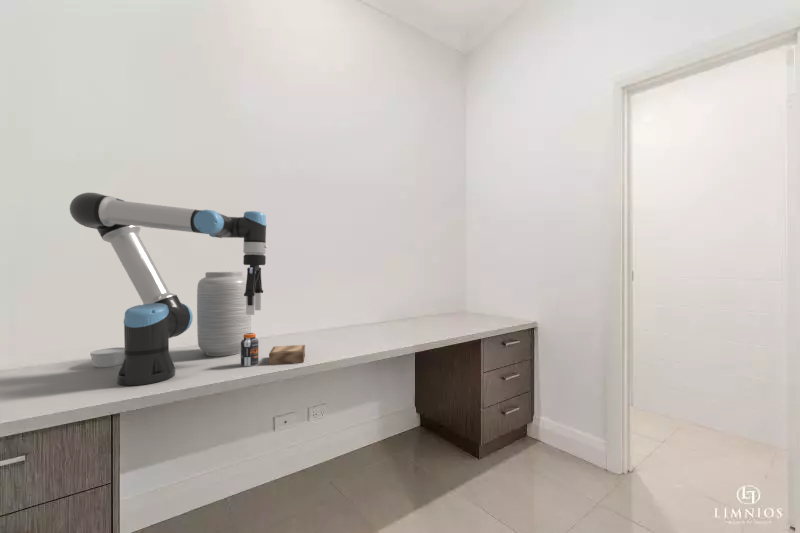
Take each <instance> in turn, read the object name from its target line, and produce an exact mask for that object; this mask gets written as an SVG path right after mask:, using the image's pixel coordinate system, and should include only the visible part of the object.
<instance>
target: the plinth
mask: <svg viewBox="0 0 800 533" xmlns="http://www.w3.org/2000/svg"><path fill="white" fill-rule="evenodd" d="M305 356H306V345H305V344H299V345H298V344H297V345H278V346H277V345H276V346H273V347H272V348H271V350H270V351H269V354H268V364H269V365H284V364H286V365H287V364H302V363H303V364H304V361H305Z"/></svg>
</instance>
